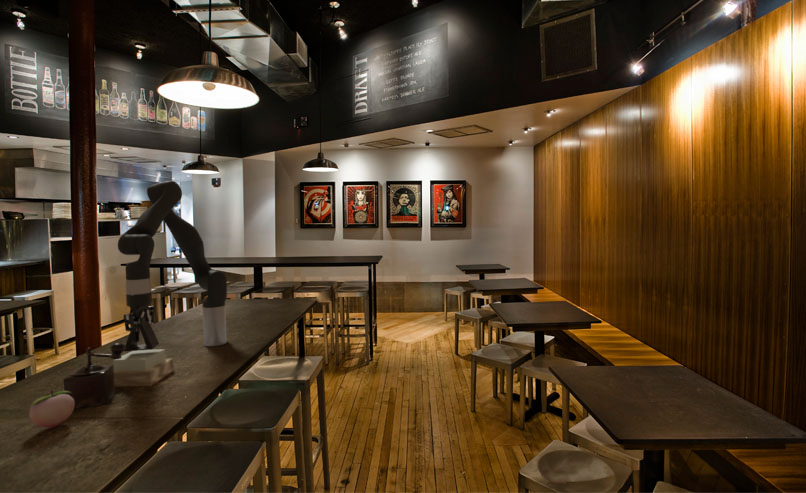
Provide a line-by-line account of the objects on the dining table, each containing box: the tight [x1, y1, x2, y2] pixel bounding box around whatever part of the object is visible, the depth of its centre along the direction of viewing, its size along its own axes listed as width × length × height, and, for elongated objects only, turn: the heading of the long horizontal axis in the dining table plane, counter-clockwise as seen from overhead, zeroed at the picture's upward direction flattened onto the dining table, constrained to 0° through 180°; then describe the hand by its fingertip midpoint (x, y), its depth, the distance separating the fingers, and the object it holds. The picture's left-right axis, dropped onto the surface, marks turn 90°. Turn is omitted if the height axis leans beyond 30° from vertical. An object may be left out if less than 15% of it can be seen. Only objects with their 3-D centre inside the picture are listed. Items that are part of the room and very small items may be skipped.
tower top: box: [112, 348, 167, 372], centre depth 142 cm, size 11×11×4 cm
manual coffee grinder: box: [63, 342, 126, 410], centre depth 125 cm, size 16×11×18 cm
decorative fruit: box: [28, 390, 75, 429], centre depth 108 cm, size 9×8×10 cm
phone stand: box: [123, 315, 160, 352], centre depth 142 cm, size 9×6×12 cm, turn 103°
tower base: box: [114, 357, 174, 387], centre depth 143 cm, size 14×14×5 cm
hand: (141, 338), depth 143 cm, fingers closed on phone stand, 6 cm apart
